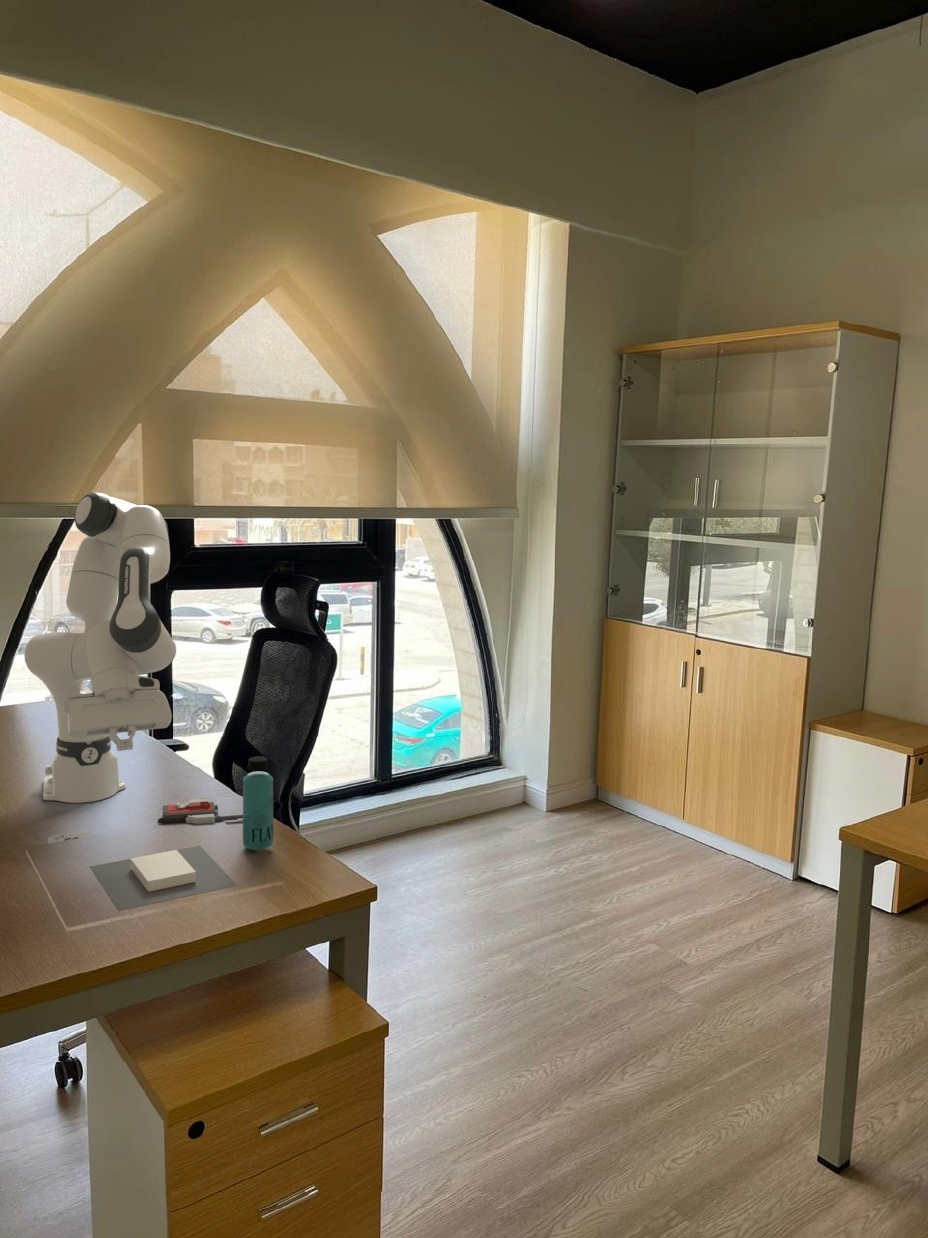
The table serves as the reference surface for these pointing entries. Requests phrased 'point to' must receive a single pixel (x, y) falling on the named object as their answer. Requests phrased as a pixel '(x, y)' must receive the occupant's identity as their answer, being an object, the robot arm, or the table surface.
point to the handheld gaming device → (68, 836)
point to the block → (163, 870)
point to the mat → (133, 894)
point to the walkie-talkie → (194, 812)
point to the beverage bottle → (258, 805)
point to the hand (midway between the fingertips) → (125, 749)
